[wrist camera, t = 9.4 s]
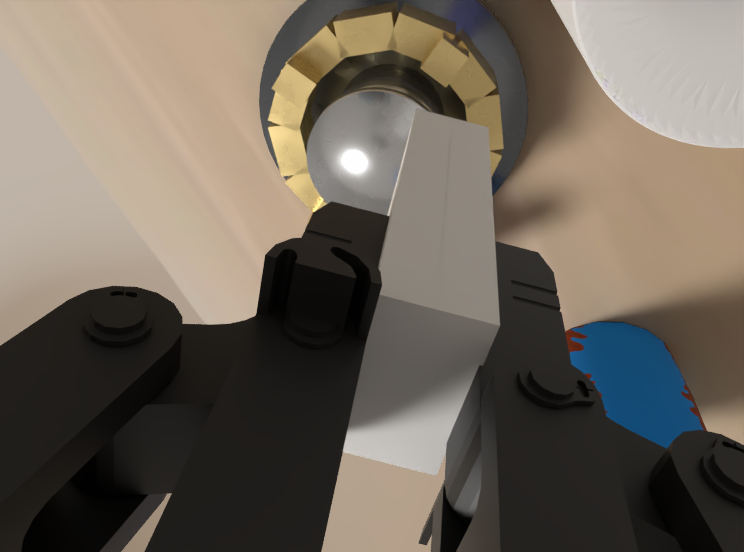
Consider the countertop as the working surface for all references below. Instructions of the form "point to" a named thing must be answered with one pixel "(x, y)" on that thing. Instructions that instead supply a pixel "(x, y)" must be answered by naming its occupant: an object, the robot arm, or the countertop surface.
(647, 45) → the container
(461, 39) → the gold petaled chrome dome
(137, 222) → the countertop surface
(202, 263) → the countertop surface
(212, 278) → the countertop surface
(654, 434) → the thermos
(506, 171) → the base
